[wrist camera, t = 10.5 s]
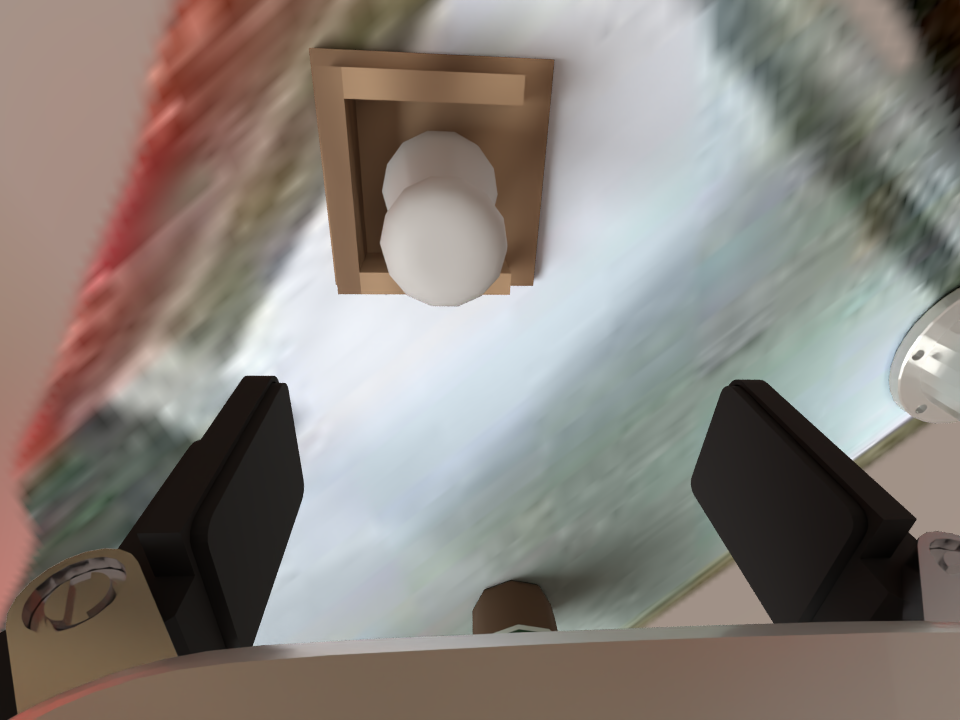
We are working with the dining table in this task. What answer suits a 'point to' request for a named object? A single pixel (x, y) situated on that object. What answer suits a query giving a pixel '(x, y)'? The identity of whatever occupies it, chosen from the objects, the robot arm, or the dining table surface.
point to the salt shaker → (442, 220)
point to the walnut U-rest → (410, 112)
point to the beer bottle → (513, 610)
